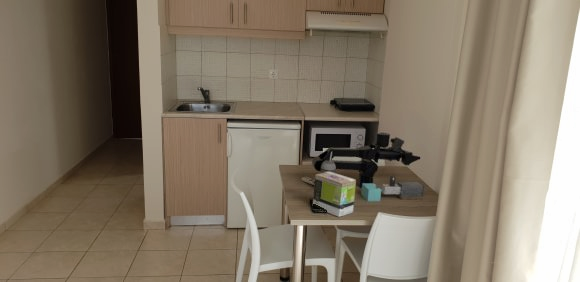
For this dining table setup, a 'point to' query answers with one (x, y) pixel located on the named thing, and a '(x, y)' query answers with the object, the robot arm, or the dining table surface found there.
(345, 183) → the tea box
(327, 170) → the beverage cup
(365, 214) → the dining table surface
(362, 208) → the dining table surface
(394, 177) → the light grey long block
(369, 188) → the socket block
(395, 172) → the dining table surface
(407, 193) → the sleeve
